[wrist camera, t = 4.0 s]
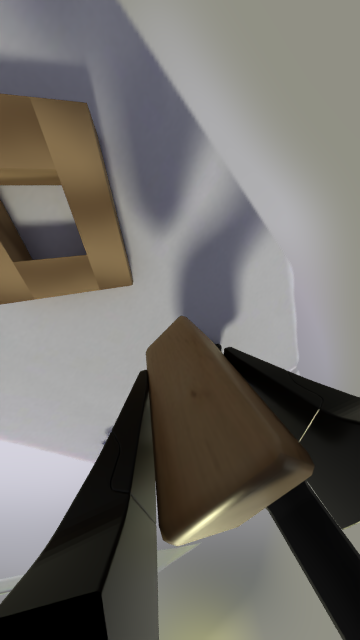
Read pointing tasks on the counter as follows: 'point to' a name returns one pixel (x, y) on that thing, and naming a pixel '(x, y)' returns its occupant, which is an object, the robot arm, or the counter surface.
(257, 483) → the wooden block
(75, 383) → the counter surface
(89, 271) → the socket collar
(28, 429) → the counter surface
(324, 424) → the robot arm
